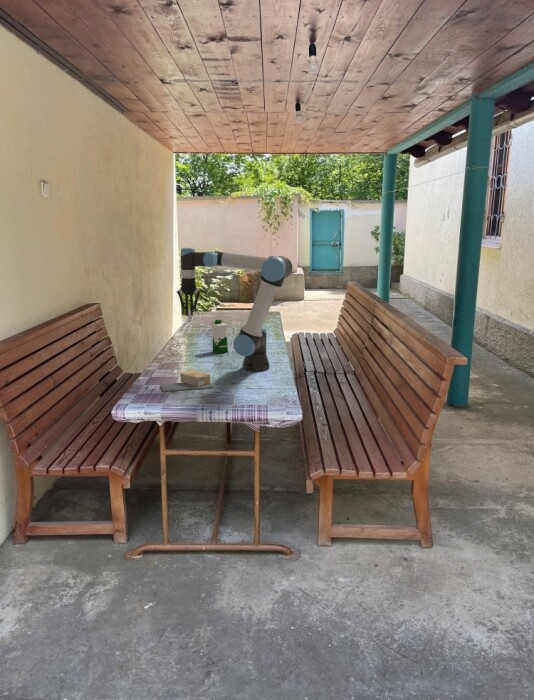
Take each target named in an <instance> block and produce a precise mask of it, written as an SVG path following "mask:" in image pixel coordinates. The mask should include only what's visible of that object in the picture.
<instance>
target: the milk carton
mask: <svg viewBox="0 0 534 700" xmlns="http://www.w3.org/2000/svg"><path fill="white" fill-rule="evenodd" d="M211 329H212V352H213V353H215V352H216V354H218V353H220V354H226V353H225V352H227V353H229V349H228V346H229V345H228V329H229V324H228V323H225V322H222V320H221V319H215V320H214V323H211Z"/></svg>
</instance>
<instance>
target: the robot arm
mask: <svg viewBox="0 0 534 700" xmlns="http://www.w3.org/2000/svg"><path fill="white" fill-rule="evenodd" d="M179 257H180V277H181V278H180V279H181V280H180V282H181V283H180V284H181V285H180V289H179V290H176V294H177V295H178V298H179V301H180V305H181V308H182V309H184V310H185V316H187V323H192V316H194V310H195V309H197V307H198V302H199V301H198V300H199V296H200V294H201V292H202V291H201V290H200V289H198V288H197V286H196V284H197V283H196V278H195V277H196V267H202V268H205V267H206V268H214V267H216V266H217V267H225V268H233V269H241V270H246V271H255V272H260V273H261V275H260V277H259V280H260V282H261V283H260V286H259V289H258V290H257V294H256V297H255V300H254V302H253V305H252V307H251V309H250V312H249V315H248V317H247V320H246V323H245V325H242V326H241V328H240V331H239V333H238V335H236V337H235V338H234V340H233V344H232V346H233V349H234V351H235V352H236V354H238V355H240V356H242V357H244V358H243V360H242V361H243V362H242V364H241V366H242V367H241V368H242V370H244V369H245V371H247V372H248V371H249V372H263V371H267V370H269V369H270V361H269V358H268V355H267V335H268V333H267V329H266V327H264V324H265V322H266V319H267V316H268V314H269V311H270V309H271V307H272V303H273V301H274V299H275V296H276V293H277V290H278V289H281V288H282V286H283V285H284V281H285V279H286V278H288V277H290V276H291V274H292V272H293V264H292V260H290V259H289V258H288V257H286V256H284V255H280V256H273V255H269V256H268V257H265V256H257V255H247V254H242V253H241V254H239V253H231V252H223V251H219V250H215V251H202V252H201V251H199V252H198V251H196V250H195V248H194V247H181V249H180V256H179ZM182 293H183V294H184V299H183V295H182ZM194 293H195V298H193V297H194V296H193V295H194ZM193 299H194V300H193ZM193 301H194V302H193Z"/></svg>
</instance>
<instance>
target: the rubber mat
mask: <svg viewBox="0 0 534 700" xmlns="http://www.w3.org/2000/svg"><path fill="white" fill-rule="evenodd" d="M160 388H161V390H162V393H167V392H169V393H170V392H180V391H193V390H207V389H214V386H213V384H212V383H211V382H210V383H209V384H205V385H202V386H194V385H191V384H187V383H184V382H172V383H171V382H169V383H160Z"/></svg>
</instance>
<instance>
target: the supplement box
mask: <svg viewBox="0 0 534 700" xmlns="http://www.w3.org/2000/svg"><path fill="white" fill-rule="evenodd" d="M179 375H180V383H182V382H184V383H187V384H191V385H194V386H202V385H205V384H209V383H211V374H209V373H206V372H202V371H199V370H194V369H191V370H188V371H183V372H180V374H179Z"/></svg>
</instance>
